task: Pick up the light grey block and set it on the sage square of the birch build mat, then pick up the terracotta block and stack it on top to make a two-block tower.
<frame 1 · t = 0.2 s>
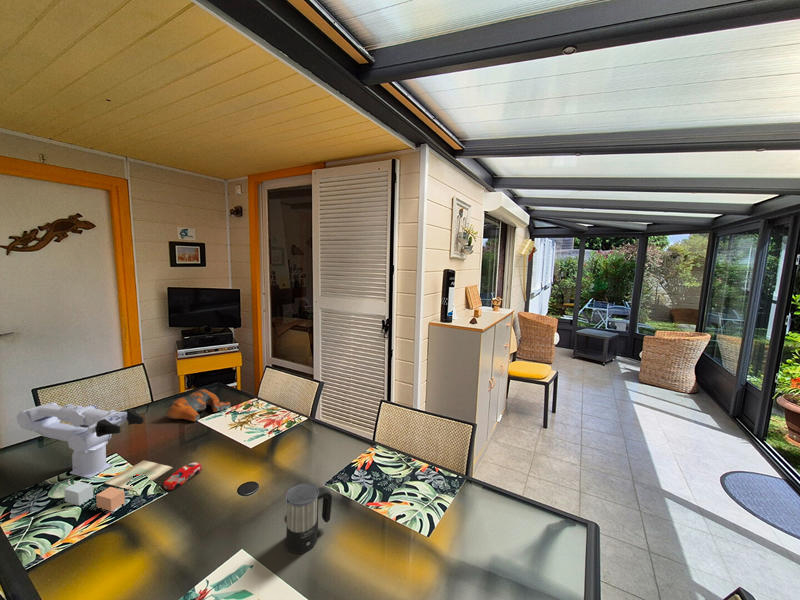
hand: (131, 425, 114), 21 cm above the table, tool horizontal, fingers open, 7 cm apart
milk frother: (300, 530, 100), on the table
light grey block: (79, 499, 106), on the table
race car: (183, 480, 119), on the table
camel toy: (200, 414, 168), on the table
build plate: (140, 475, 120), on the table
terracotta block: (111, 505, 105), on the table
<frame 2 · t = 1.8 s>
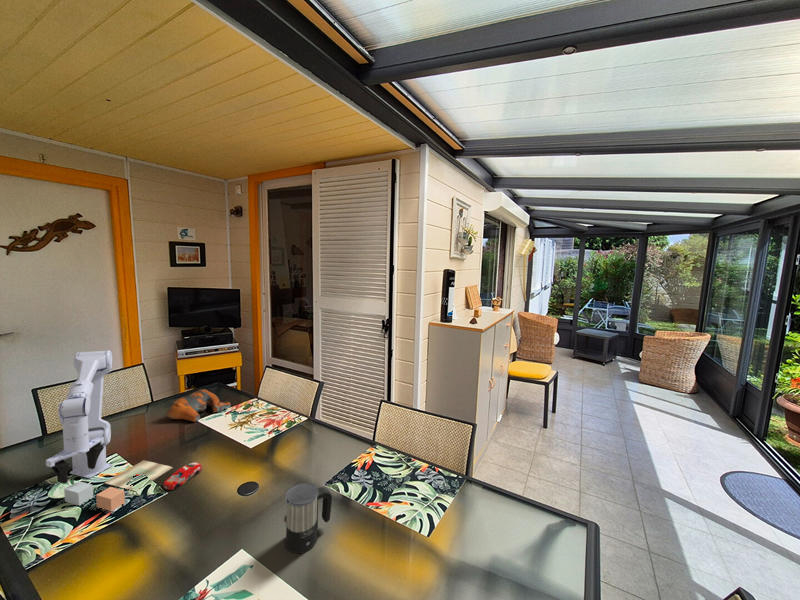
hand: (78, 474, 105), 9 cm above the table, tool pointing down, fingers open, 7 cm apart
nothing on the table moved.
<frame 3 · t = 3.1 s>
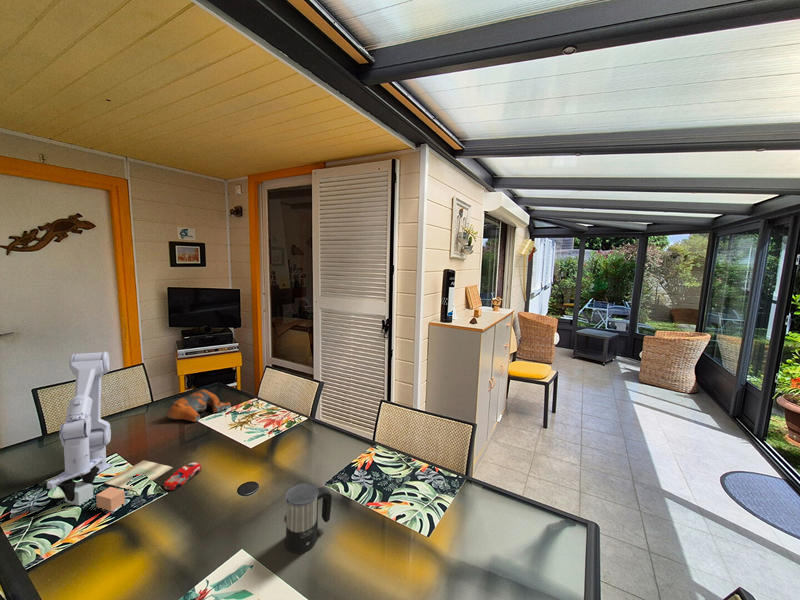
hand: (79, 495, 106), 1 cm above the table, tool pointing down, fingers closed on light grey block, 4 cm apart
light grey block: (79, 499, 106), on the table, touching gripper
everything else where it was.
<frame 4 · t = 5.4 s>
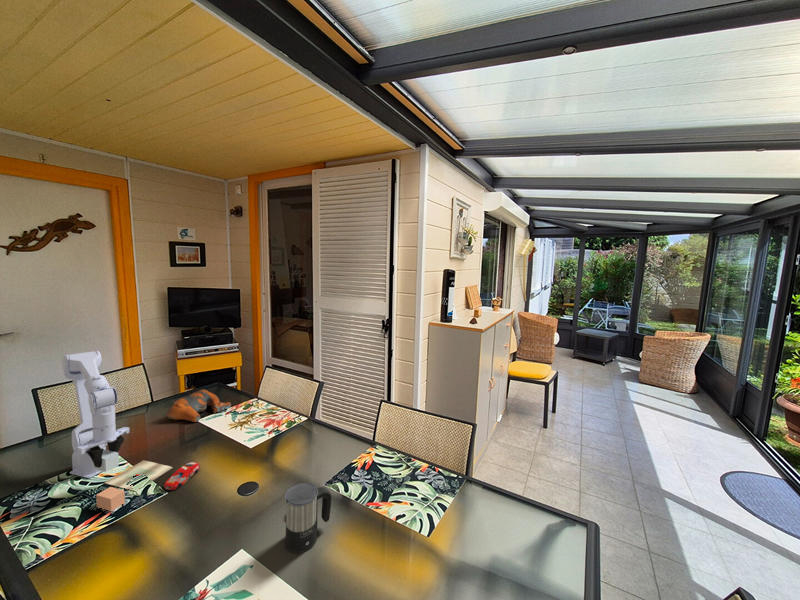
hand: (105, 462, 111), 9 cm above the table, tool pointing down, fingers closed on light grey block, 4 cm apart
light grey block: (105, 466, 111), point 8 cm above the table, touching gripper
everything else where it was.
when the fingers open (3 cm above the table, at t = 7.8 s): light grey block stays where it is, resting on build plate.
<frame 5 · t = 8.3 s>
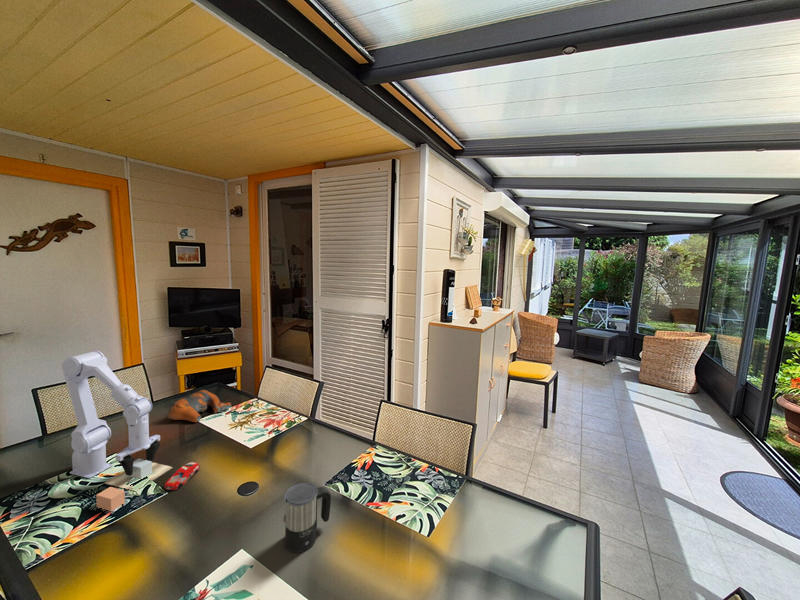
hand: (139, 468, 119), 3 cm above the table, tool pointing down, fingers open, 7 cm apart
light grey block: (140, 474, 120), resting on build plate
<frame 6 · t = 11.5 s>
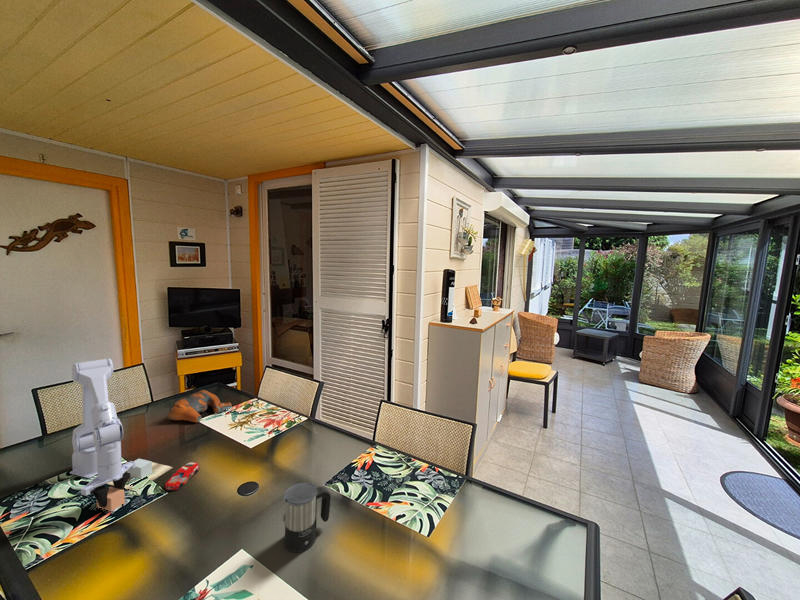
hand: (110, 501, 105), 1 cm above the table, tool pointing down, fingers closed on terracotta block, 4 cm apart
terracotta block: (111, 505, 105), on the table, touching gripper
when the fingers open (7 cm above the table, at t = 15.4 s): terracotta block stays where it is, resting on light grey block.
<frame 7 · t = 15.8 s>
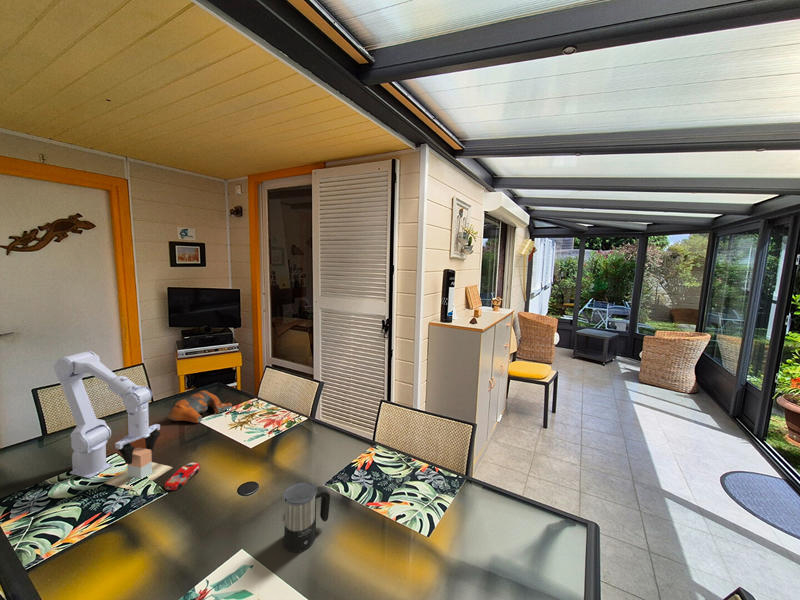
hand: (139, 457, 119), 7 cm above the table, tool pointing down, fingers open, 7 cm apart
light grey block: (140, 474, 120), resting on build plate, touching terracotta block
terracotta block: (139, 463, 119), point 5 cm above the table, touching light grey block
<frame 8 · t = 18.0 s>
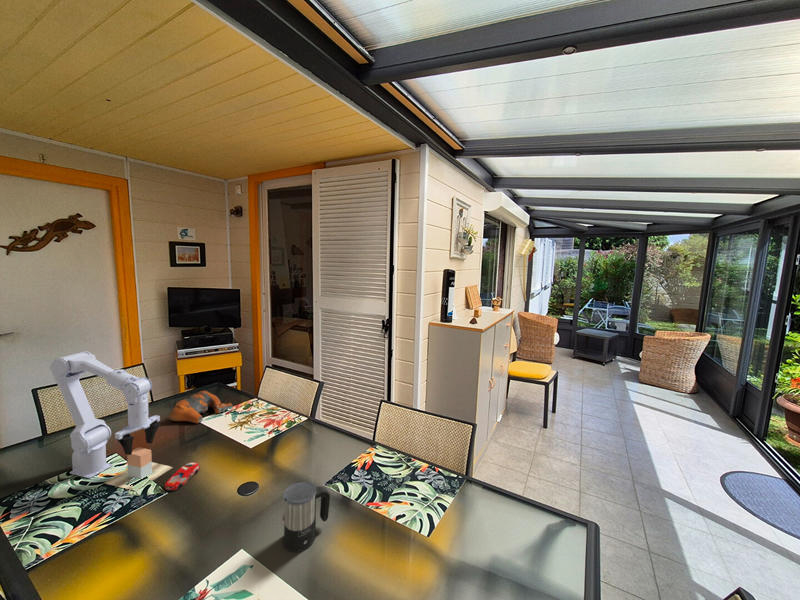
hand: (139, 448, 119), 10 cm above the table, tool pointing down, fingers open, 7 cm apart
at the end: light grey block 0.1 cm off-centre on the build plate, point 0.2 cm above the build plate's base; terracotta block 0.0 cm off-centre on the light grey block, point 4.5 cm above the light grey block's base; terracotta block tilted 0° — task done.
